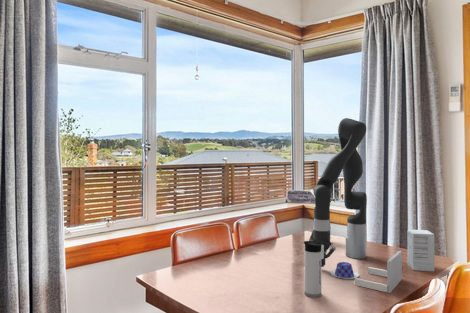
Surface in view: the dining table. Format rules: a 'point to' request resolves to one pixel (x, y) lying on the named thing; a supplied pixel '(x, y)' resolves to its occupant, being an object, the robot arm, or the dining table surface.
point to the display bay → (385, 275)
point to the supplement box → (421, 250)
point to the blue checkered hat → (344, 271)
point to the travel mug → (312, 268)
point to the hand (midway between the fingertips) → (321, 266)
